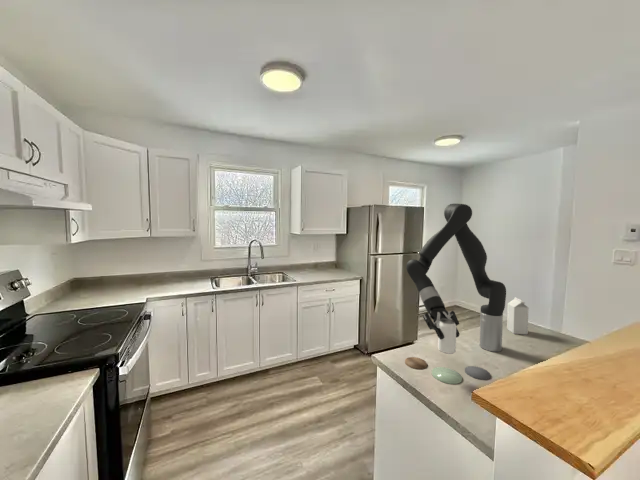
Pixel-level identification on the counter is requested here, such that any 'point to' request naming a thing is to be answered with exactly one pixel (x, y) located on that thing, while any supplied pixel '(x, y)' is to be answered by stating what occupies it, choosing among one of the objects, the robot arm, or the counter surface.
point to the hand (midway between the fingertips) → (450, 337)
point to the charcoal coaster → (477, 372)
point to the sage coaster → (446, 375)
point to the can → (447, 336)
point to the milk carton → (517, 317)
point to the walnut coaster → (415, 363)
